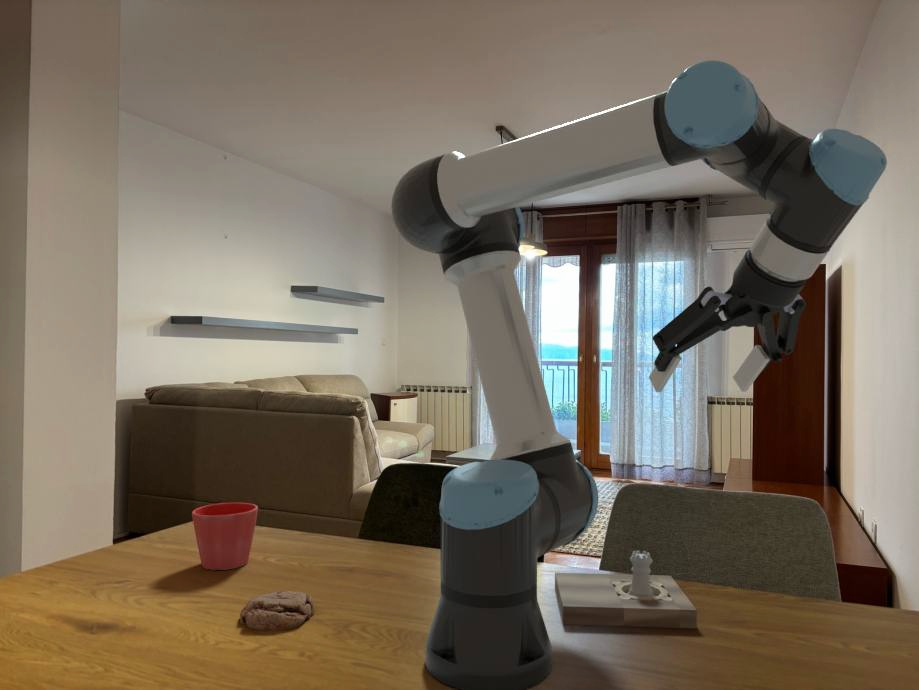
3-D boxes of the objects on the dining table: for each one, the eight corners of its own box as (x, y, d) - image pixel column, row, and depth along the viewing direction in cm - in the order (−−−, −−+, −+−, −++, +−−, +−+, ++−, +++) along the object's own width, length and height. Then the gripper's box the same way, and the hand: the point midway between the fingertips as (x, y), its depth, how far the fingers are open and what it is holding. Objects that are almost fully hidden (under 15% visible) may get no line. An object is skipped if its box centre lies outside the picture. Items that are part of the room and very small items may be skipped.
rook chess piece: (653, 602, 99) (653, 549, 100) (659, 614, 95) (660, 558, 95) (622, 601, 100) (623, 548, 100) (627, 613, 95) (628, 557, 96)
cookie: (329, 609, 97) (329, 589, 97) (284, 638, 87) (284, 615, 87) (273, 600, 101) (273, 580, 101) (224, 627, 91) (224, 604, 91)
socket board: (696, 628, 90) (696, 610, 90) (562, 624, 91) (563, 606, 91) (670, 591, 104) (670, 575, 104) (554, 588, 105) (554, 572, 105)
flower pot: (194, 557, 120) (194, 503, 120) (257, 552, 124) (257, 500, 124) (188, 576, 110) (189, 517, 110) (257, 570, 113) (258, 513, 114)
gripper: (845, 249, 84) (759, 365, 98) (672, 238, 77) (608, 364, 91) (881, 287, 79) (786, 404, 93) (700, 279, 72) (627, 406, 86)
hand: (697, 384), depth 92 cm, fingers open, 13 cm apart
